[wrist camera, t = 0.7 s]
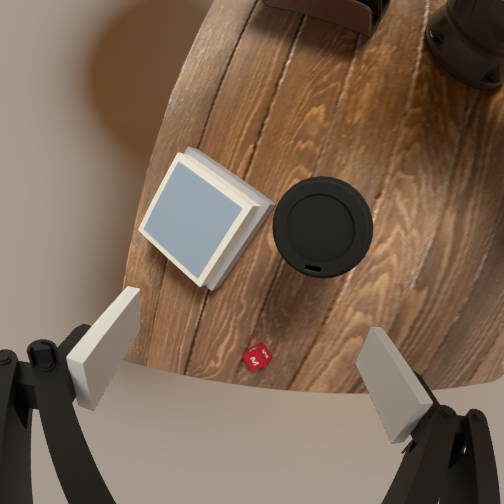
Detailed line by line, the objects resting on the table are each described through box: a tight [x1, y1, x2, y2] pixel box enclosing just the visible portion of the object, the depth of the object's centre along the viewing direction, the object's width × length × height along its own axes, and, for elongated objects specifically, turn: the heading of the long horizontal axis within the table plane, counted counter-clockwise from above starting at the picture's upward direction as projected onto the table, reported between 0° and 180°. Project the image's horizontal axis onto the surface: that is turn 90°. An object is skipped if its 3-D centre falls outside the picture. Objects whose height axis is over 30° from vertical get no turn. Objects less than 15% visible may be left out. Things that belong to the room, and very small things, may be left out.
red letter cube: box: [242, 343, 272, 371], centre depth 45 cm, size 3×3×3 cm
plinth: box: [138, 147, 276, 291], centre depth 43 cm, size 16×16×6 cm
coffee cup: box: [273, 176, 373, 278], centre depth 32 cm, size 10×10×15 cm
